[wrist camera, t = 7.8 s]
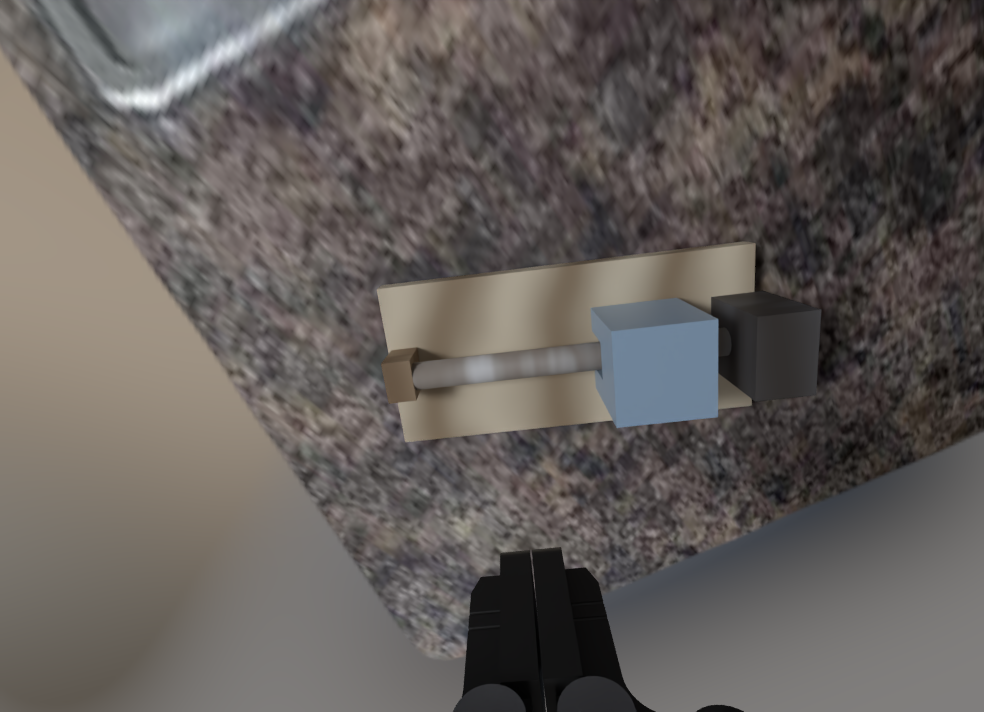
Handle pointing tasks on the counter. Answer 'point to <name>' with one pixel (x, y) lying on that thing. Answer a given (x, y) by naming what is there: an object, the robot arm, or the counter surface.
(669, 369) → the blue sleeve
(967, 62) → the counter surface
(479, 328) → the rail board
